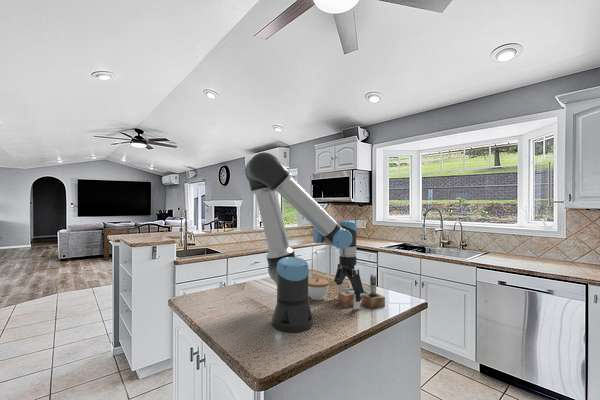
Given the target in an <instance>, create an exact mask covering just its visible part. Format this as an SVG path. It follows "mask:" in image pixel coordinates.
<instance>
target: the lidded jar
mask: <svg viewBox="0 0 600 400" xmlns="http://www.w3.org/2000/svg"><path fill="white" fill-rule="evenodd" d="M329 283H330V282H329V280H327V279H324V278H319V277H316V278H311V279H309V278H308V297H309V298H310V299H311V300H313V301H323V300H324V299H325V298H326V296H327V295H328V292H329V287H330V286H329Z"/></svg>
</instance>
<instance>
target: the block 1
mask: <svg viewBox="0 0 600 400" xmlns="http://www.w3.org/2000/svg"><path fill="white" fill-rule="evenodd" d="M353 293H354V292H352V291H350V290H348V291H340V292H338V299H337V301H338V302H337V303H338V304H339V305H341V306H343V307H344V308H347V307H349V308H350V307H354V297H353Z"/></svg>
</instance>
